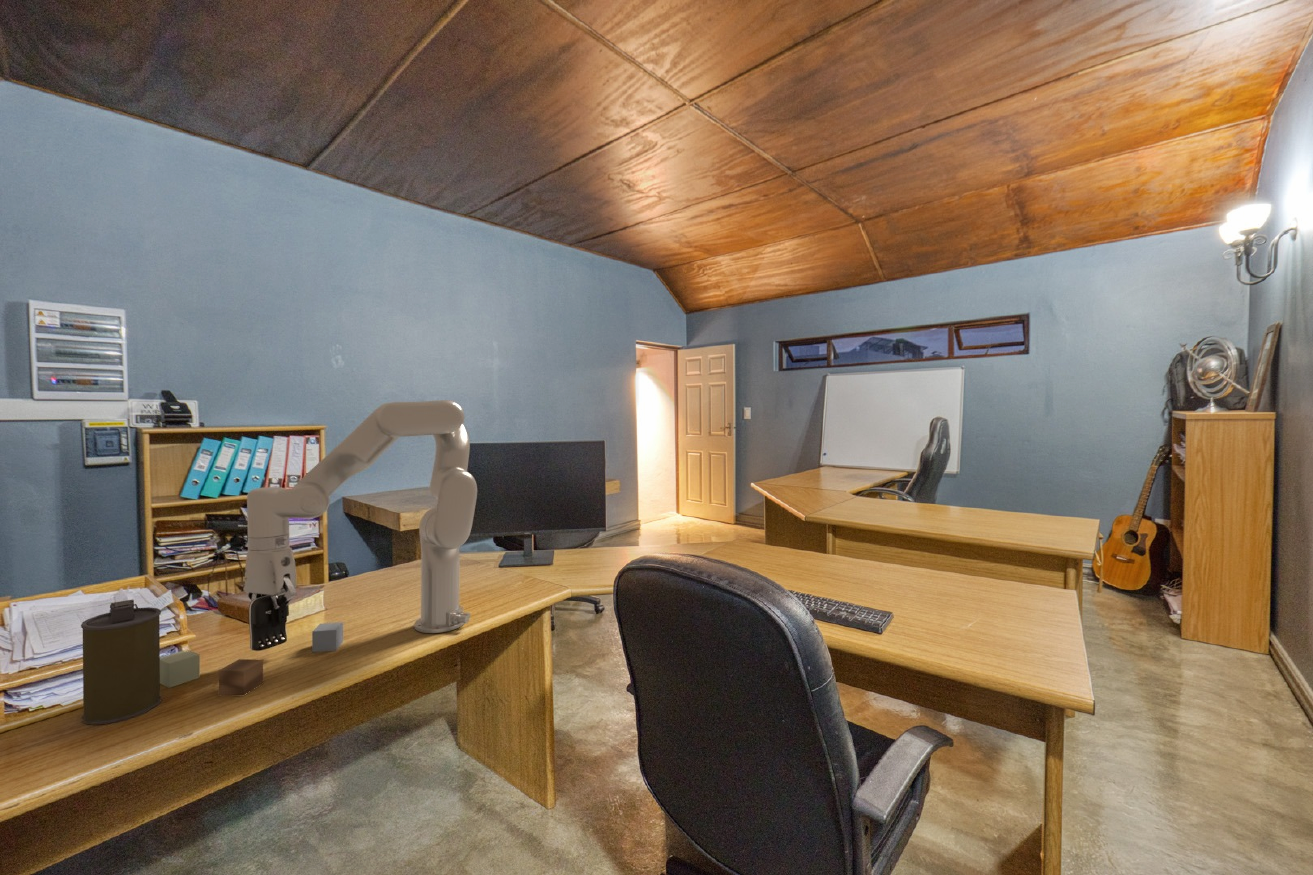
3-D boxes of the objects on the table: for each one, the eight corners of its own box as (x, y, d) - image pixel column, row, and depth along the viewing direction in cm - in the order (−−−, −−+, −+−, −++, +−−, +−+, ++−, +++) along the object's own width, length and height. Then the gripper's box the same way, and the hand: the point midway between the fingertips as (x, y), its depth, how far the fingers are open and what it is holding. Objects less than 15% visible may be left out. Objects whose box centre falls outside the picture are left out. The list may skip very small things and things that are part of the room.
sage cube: (199, 677, 111) (199, 654, 111) (169, 688, 106) (169, 663, 106) (187, 672, 113) (187, 649, 113) (157, 682, 109) (157, 658, 108)
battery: (257, 654, 115) (256, 602, 115) (248, 650, 117) (247, 599, 116) (292, 642, 121) (291, 593, 121) (282, 639, 123) (281, 590, 123)
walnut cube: (263, 683, 109) (263, 659, 109) (243, 696, 104) (243, 671, 104) (239, 683, 109) (239, 659, 109) (218, 695, 104) (218, 670, 104)
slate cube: (343, 642, 130) (343, 622, 130) (336, 650, 125) (336, 629, 125) (320, 644, 129) (320, 623, 129) (312, 652, 124) (312, 631, 124)
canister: (164, 709, 99) (164, 602, 98) (82, 732, 91) (81, 617, 90) (157, 689, 106) (157, 589, 105) (80, 709, 98) (80, 602, 98)
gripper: (313, 541, 120) (314, 621, 120) (257, 536, 124) (258, 613, 125) (282, 549, 112) (283, 634, 113) (223, 543, 117) (224, 625, 118)
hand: (270, 622), depth 119 cm, fingers closed on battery, 4 cm apart
